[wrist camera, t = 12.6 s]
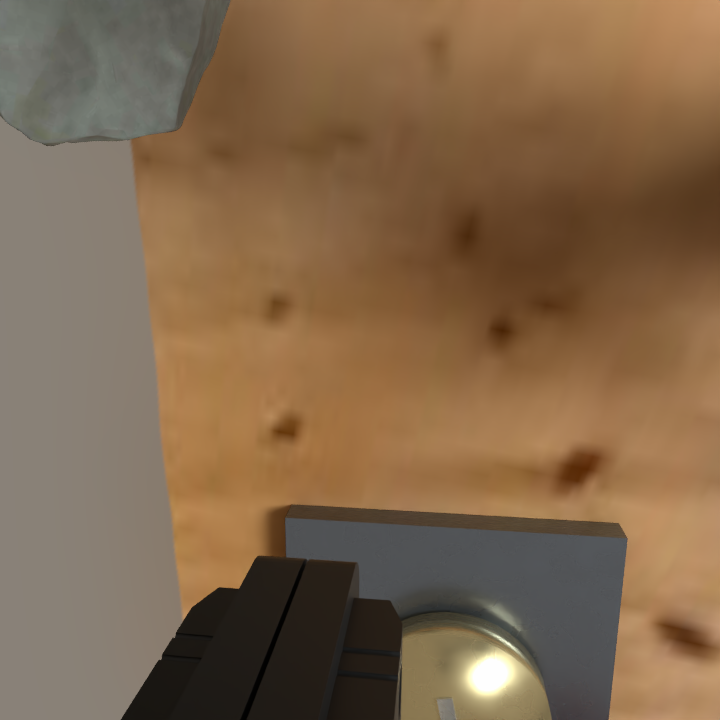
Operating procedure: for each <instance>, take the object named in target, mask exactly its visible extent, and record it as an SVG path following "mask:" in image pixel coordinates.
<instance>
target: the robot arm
mask: <svg viewBox="0 0 720 720" xmlns="http://www.w3.org/2000/svg"><path fill="white" fill-rule="evenodd" d="M402 641H403V624H402V622H401V620H400V618H399V616H398V614H397V612H396V610H395V608H394V607H393V605H392V603H391V601H390V600H379V599H365V598H359V565H358V563H357V562H345V561H331V560H316V559H309V560H307V559H304V558H289V557H274V556H257V557H256V559H255V560H254V562H253V564H252V566H251V568H250V570H249V571H248V573H247V575H246V577H245V579H244V581H243V582H242V584H241V586H240V588H239V589H233V588H220V587H219V588H217V589H216V590H215V591H213V592H212V593H211V594H209V595H208V596H207V597H205V598H204V599H203V600H201V601H200V602H199V603H197V604H196V605H195V606H193V607H192V608H191V610H190V611H189V613H188V614H187V616H186V618H185V619H184V621H183V622H182V624H181V626H180V627H179V629H178V630H177V632H176V636H175V638H172V640H171V641H170V643H169V645H168V646H167V648H166V649H165V651H164V652H163V654H162V659H161V660H159V661H158V662H157V663H156V665H155V667H154V668H153V670H152V671H151V673H150V674H149V676H148V678H147V679H146V681H145V682H144V684H143V686H142V687H141V689H140V690H139V692H138V694H137V695H136V697H135V698H134V700H133V701H132V703H131V704H130V706H129V708H128V709H127V711H126V712H125V714H124V715H123V717H122V719H121V720H401V693H402Z"/></svg>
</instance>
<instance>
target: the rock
mask: <svg viewBox="0 0 720 720" xmlns="http://www.w3.org/2000/svg"><path fill="white" fill-rule="evenodd" d="M229 4H230V0H0V116H1V117H2V118H3V119H4V120H5V121H6V122H7V123H8V124H9V125H11V126H13V127H14V128H16V129H17V130H19V131H21V132H22V133H23V134H24V135H26V136H27V137H28V138H29V139H31V140H33V141H36V142H40V143H42V144H44V145H46V146H54V145H58V144H60V143H65V142H70V143H77V142H86V141H120V140H129V139H133V138H137V137H141V136H145V135H151V134H158V133H165V132H172V131H176V130H178V129H179V128H180V127H181V125H182V123H183V120H184V118H185V116H186V113H187V111H188V109H189V107H190V105H191V103H192V100H193V98H194V95H195V92H196V89H197V86H198V84H199V82H200V79H201V77H202V75H203V72H204V71H205V69H206V68H207V66H208V65H209V63H210V61H211V59H212V57H213V54H214V52H215V49H216V46H217V42H218V39H219V35H220V31H221V27H222V24H223V21H224V18H225V15H226V12H227V9H228V7H229Z"/></svg>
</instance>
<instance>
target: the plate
mask: <svg viewBox="0 0 720 720" xmlns="http://www.w3.org/2000/svg"><path fill="white" fill-rule="evenodd" d="M285 531H286V557H289V558H304V559H307V560H309V559H316V560H331V561H345V562H357V563H358V565H359V598H365V599H379V600H390V601H391V603H392V605H393V607H394V608H395V610H396V612H397V614H398V616H399V618H400V620H401V621H403V620H405V619H408V618H410V617H414V616H417V615H421V614H427V613H435V612H451V613H461V614H466V615H471V616H475V617H478V618H481V619H484V620H486V621H488V622H491V623H493V624H495V625H497V626H499V627H500V628H502V629H504V630H505V631H507V632H508V633H510V634H511V635H512V636H513V637H515V638H516V639H517V640H518V641H519V642H520V643H521V644H522V645H523V646H524V647H525V648H526V649H527V650H528V652H529V653H530V654H531V656H532V657H533V658H534V660H535V662H536V664H537V666H538V667H539V670H540V672H541V675H542V677H543V681H544V685H545V690H546V694H547V699H548V703H549V708H550V712H551V717H552V720H608V719H609V709H610V700H611V690H612V681H613V671H614V662H615V652H616V643H617V633H618V624H619V614H620V605H621V595H622V586H623V576H624V567H625V557H626V548H627V537H626V535H625V533H624V531H623V530H622V528H621V526H620V525H619V523H603V522H585V521H568V520H551V519H533V518H516V517H498V516H481V515H464V514H446V513H429V512H412V511H394V510H377V509H359V508H342V507H325V506H307V505H291V507H290V509H289V511H288V513H287V515H286V517H285Z"/></svg>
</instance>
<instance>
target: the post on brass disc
mask: <svg viewBox="0 0 720 720" xmlns="http://www.w3.org/2000/svg"><path fill="white" fill-rule="evenodd" d="M401 622H402V624H403V641H402V693H401V720H552V717H551V712H550V708H549V703H548V699H547V694H546V690H545V685H544V681H543V677H542V675H541V672H540V670H539V667H538V666H537V664H536V662H535V660H534V658H533V657H532V656H531V654H530V653H529V652H528V650H527V649H526V648H525V647H524V646H523V645H522V644H521V643H520V642H519V641H518V640H517V639H516V638H515V637H513V636H512V635H511V634H510V633H508V632H507V631H505V630H504V629H502V628H500V627H499V626H497V625H495V624H493V623H491V622H488V621H486V620H484V619H481V618H478V617H475V616H471V615H466V614H461V613H451V612H435V613H427V614H421V615H417V616H414V617H410V618H408V619H405V620H403V621H401Z"/></svg>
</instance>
